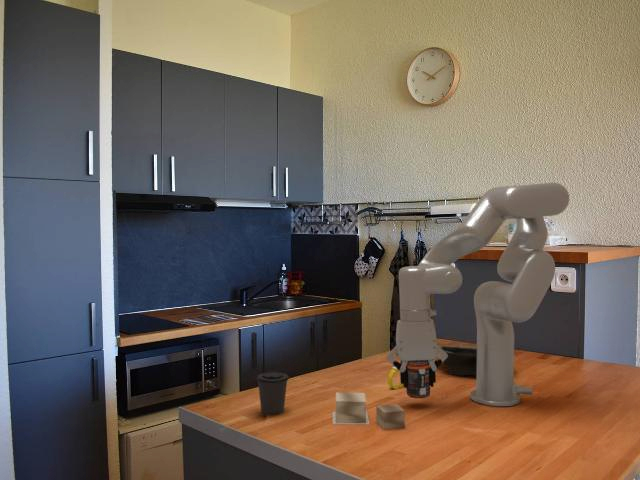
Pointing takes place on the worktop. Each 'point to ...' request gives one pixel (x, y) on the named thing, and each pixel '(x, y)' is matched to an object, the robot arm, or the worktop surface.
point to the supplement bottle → (418, 379)
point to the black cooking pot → (460, 359)
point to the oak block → (390, 416)
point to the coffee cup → (272, 392)
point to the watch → (391, 379)
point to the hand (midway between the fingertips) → (418, 385)
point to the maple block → (350, 408)
